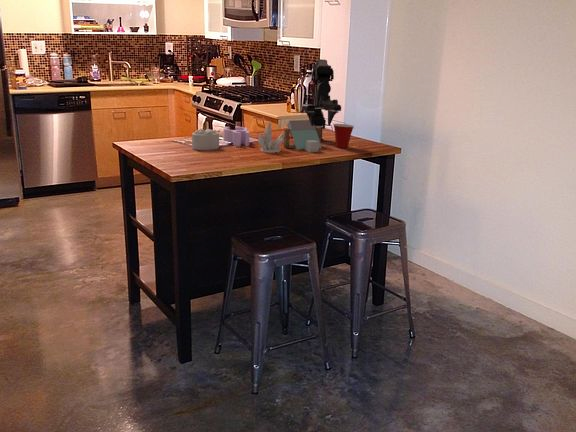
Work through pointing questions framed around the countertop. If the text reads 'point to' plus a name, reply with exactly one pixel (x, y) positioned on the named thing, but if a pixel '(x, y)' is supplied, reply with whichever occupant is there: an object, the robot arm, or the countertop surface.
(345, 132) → the plastic cup
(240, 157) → the countertop surface
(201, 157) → the countertop surface
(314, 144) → the stone
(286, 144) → the frame
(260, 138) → the crystal
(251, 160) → the countertop surface
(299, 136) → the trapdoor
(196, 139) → the lumpy-topped squat cylinder
